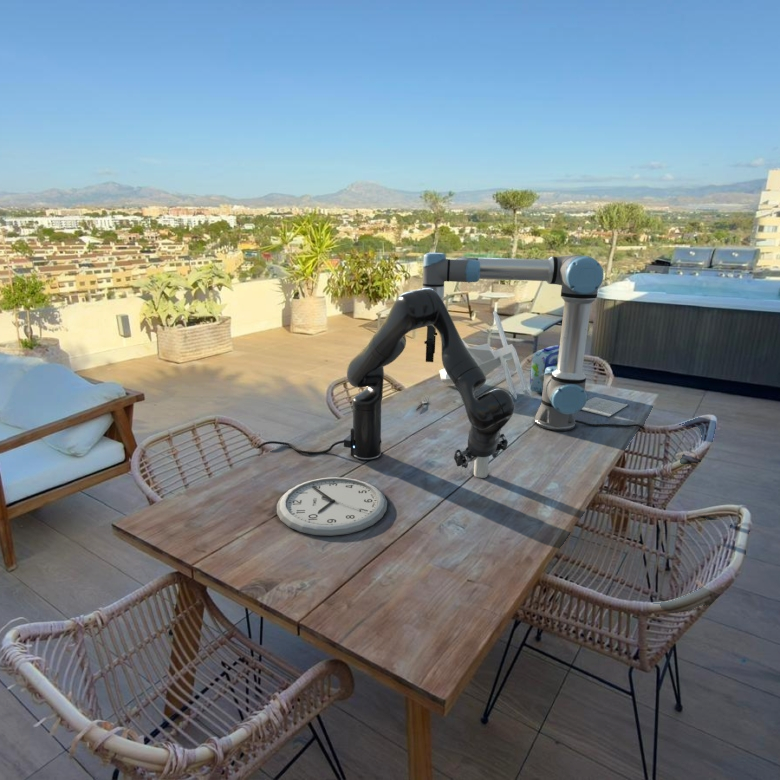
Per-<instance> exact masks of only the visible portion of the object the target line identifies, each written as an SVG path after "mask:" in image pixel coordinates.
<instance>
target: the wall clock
mask: <svg viewBox="0 0 780 780" xmlns="http://www.w3.org/2000/svg"><path fill="white" fill-rule="evenodd" d="M387 509H388V500H387V498H386V496H385V494H384V493H383V492H382V491H381V490H380V489H379V488H377V487H376V486H374V485H372V484H371V483H369V482H365V481H362V480H359V479H355V478H349V477H338V476H337V477H335V476H333V477H332V476H331V477H322V478H317V479H312V480H307V481H305V482H302V483H299V484H297V485H295V486H293V487H292V488H290V489H288V490H287V491H286V492H285V493H284V494H283V495H281V496H280V498H279V499H278V502H277V503H276V515H277V517H278V518H279V520H280V521H281V522H282V523H283V524H285V525H286V526H287V527H288V528H290V529H293V530H295V531H297V532H299V533H303V534H308V535H312V536H327V537H328V536H329V537H331V536H332V537H333V536H342V535H350V534H352V533H356V532H361V531H363V530H366V529H368V528H369V527H372V526H373V525H375V524H376V523H378V522H379V521H380V520H381V519H382V518H383V517H384V516H385V514H386V512H387Z"/></svg>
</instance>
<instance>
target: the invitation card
mask: <svg viewBox="0 0 780 780" xmlns="http://www.w3.org/2000/svg"><path fill="white" fill-rule="evenodd" d="M628 406H629V404H627V403H623V402H618V401H614V400H609V399H605V398H601V397H596V396H593V397H592V398H590V399H587V401H586V404H585V406H584V407H583V408H582V409H581V410H580V411H584V412H587V413H593V414H596V415H600V416H604V417H608V418H609V417H611V416H613V415H614V414H616V413H617V412H619V411H621V410H623V409H624V408H626V407H628Z"/></svg>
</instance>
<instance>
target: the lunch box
mask: <svg viewBox="0 0 780 780" xmlns="http://www.w3.org/2000/svg"><path fill="white" fill-rule="evenodd" d="M559 346H560V345H551V346H548V347H544V348H543V349H539V350H536V351H535V352H534V354H533V356H532V358H531V363H530V374H529V391H532V392H536V393H540V394H542V392H543V382H544V373H545V369H546V368H547V367H553V366H557V364H558V355H559Z"/></svg>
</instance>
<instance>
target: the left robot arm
mask: <svg viewBox="0 0 780 780" xmlns="http://www.w3.org/2000/svg"><path fill="white" fill-rule="evenodd" d="M442 299H443V298H442ZM442 299H441V297H440V296H439V295H438V293H437V292H436V291H435V290H433V289H430V288H425V289H421V288H420V289H415V290H411V291H406V292H404V293H402V294H400V295H399V296H398V297H397V298H396V299H395V301H394V302H393V305H392V306H391V309H390V310H389V311H388V314H387V316H386V318H385V319H384V321H383V322H382V324H381V325H380V326H379V328H378V329H377V330H376V332H374V334H373V335H372V337H371V338H370V339H369V341H368V342H367V344H366V345H365V346H364V347H363V348H362V350H361V351H360V352H358V354H356V355H355V356H354V357H353V358H352V359H351V360H350V362H349V363H348V365H347V369H346V379H347V381H348V383H349V384H350V386H352V387H353V388H357V389H358V388H359V389H361V388H365V389H364V390H363V391H361V392H360V393H358V394H357V395H355V396H353V399H352V428H350V434H349V435H348V436H347V437H345V438H344V439H343V440H338V441H336V442H333V443H332V444H331V445H330V446H329V448H327V449H325V450H320V451H308V450H302V449H298V448H297V447H296V446H294V445H293V444H291V443H290V442H285V441H277V440H276V441H275V440H269V441H264V442H262V443H260V444H259V445H258V446H256V449H260V448H262V447H263V446H266V445H272V444H274V445H282V446H283V445H284V446H289V447H290V448H292V449H293V451H295V452H297V453H299V454H300V453H301V454H305V455H318V454H319V455H320V454H325V453H328V452H331V450H332V449H333V448H334V447H335V446H337V445H339V444H340V445H341V444H343V447H344V448H347V449H350V456H351V457H354V459H357V460H361V461H374V460H376V459H378V458H380V457H381V456H382V402H383V393H384V380H385V379H384V377H385V371H384V367H385V366H388V365H390V364H392V363H393V362H394V361H396V360H397V359H398V358H399V356H401V355H402V353H403V352H404V350H405V348H406V345H407V339H406V334H408V333H409V332H411V331H414V330H418V329H421V328H424V327H427V326H429V325H432V326H433V327H434V328H435V329H436V333H437V334H438V335H439V338H440V344H441V347H440V348H441V349H440V350H441V351H440V353H441V363H442V366H443V369H445V371H446V372H447V374H448V376H449V377H450V379H451V380H452V381H453V383H454V384H453V385H454V386H455V387H456V389H457V391H458V393H459V395H460V397H461V400H462V402H463V406H464V409H465V413H466V416H467V418H468V422H469V423H470V428H469V431H468V438H467V447H466V448H465V449H464V450H461V449H456V450H455V452H454V456H453V459H454V461H455V463H456V466H457V467H460V466H461V468H464V469H468V466H469V463H472V462H475V459H477V458H479V457H488V456H489V457H490V456H491V457H492V458H493V459H494V458H497V456H498V455H499V453H501V450H502V451H506V450H507V447H508V444H509V443H508V439H507V437H506V435H505V434H504V433H501V431H502V429H503V428H504V426H506V424H507V423H508V422H509V421H510V419H511V418H512V417H513V414H514V412H515V402H514V399H513V396H512V394H511V393H510V392H508V391H506V390H505V389H503V388H494V389H491V390H490V391H488V392H485V393H484V394H482V395H480V396H478V397H476V396H475V394H476V393H477V392H478V391H479V390H480V389H481V388H482V387H483V386H484V385H485V383H486V381H487V375H486V376H485V374H484V373H483V371H482V370H481V368H480V367H479V365H478V364H477V363H476V361H475V360H474V358H473V357H472V356H471V354H470V353H469V351H468V350H467V348H466V347H465V345H464V343H463V341H462V339H463V338H461V336H460V333H459V331H458V329H457V327H456V325H455V323H454V320H453V319H452V317H451V315H450V312H449V311H448V308H447V307H446V305H445V303H444V300H443V301H442Z"/></svg>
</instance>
